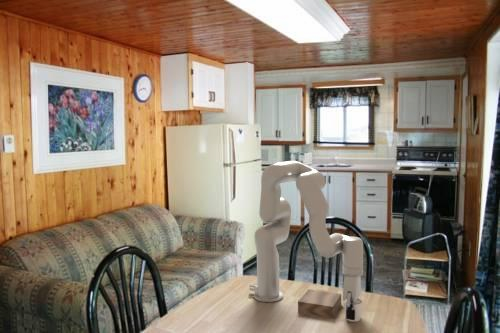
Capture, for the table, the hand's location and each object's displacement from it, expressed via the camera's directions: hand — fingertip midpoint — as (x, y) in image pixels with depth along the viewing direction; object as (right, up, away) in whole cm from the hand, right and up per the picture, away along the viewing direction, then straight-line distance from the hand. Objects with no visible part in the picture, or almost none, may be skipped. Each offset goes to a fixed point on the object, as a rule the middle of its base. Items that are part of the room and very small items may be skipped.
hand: (352, 315), depth 171 cm
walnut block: (-11, -1, +10) cm, 15 cm away
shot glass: (0, -2, 0) cm, 2 cm away
